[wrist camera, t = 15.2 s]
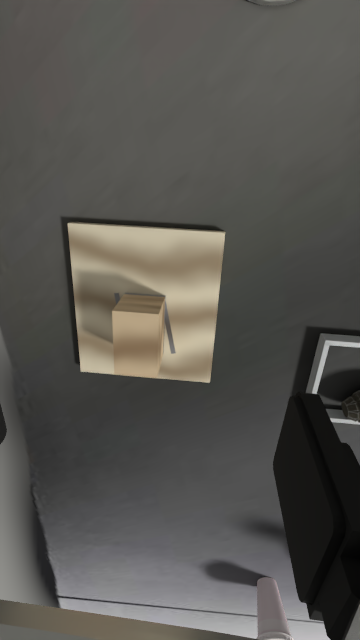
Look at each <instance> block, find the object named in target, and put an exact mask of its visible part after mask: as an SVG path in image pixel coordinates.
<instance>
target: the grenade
mask: <svg viewBox="0 0 360 640" xmlns="http://www.w3.org/2000/svg"><path fill="white" fill-rule="evenodd" d="M342 411H343V414H344V416H345V417H346V418H348V419H350V420H353V421H355V422H356V421H358V422H359V423H360V390H359V391H357V392H355V393H353V394H352V396H351V397H348V398H346V399H345V400H344V401H343V402H342Z"/></svg>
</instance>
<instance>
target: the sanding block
mask: <svg viewBox="0 0 360 640" xmlns="http://www.w3.org/2000/svg"><path fill="white" fill-rule="evenodd" d="M165 300H166V296H164V295H150V294H137V293H125V294H124V295H123V297H122V298H121V299H120V301H119V302H118V303H117V305H116V306H115V307H114V309H113V310H112V323H113V350H114V374H115V375H126V376H138V377H149V378H157V377H158V373H159V369H160V365H161V361H162V357H163V353H164V329H165Z"/></svg>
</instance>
